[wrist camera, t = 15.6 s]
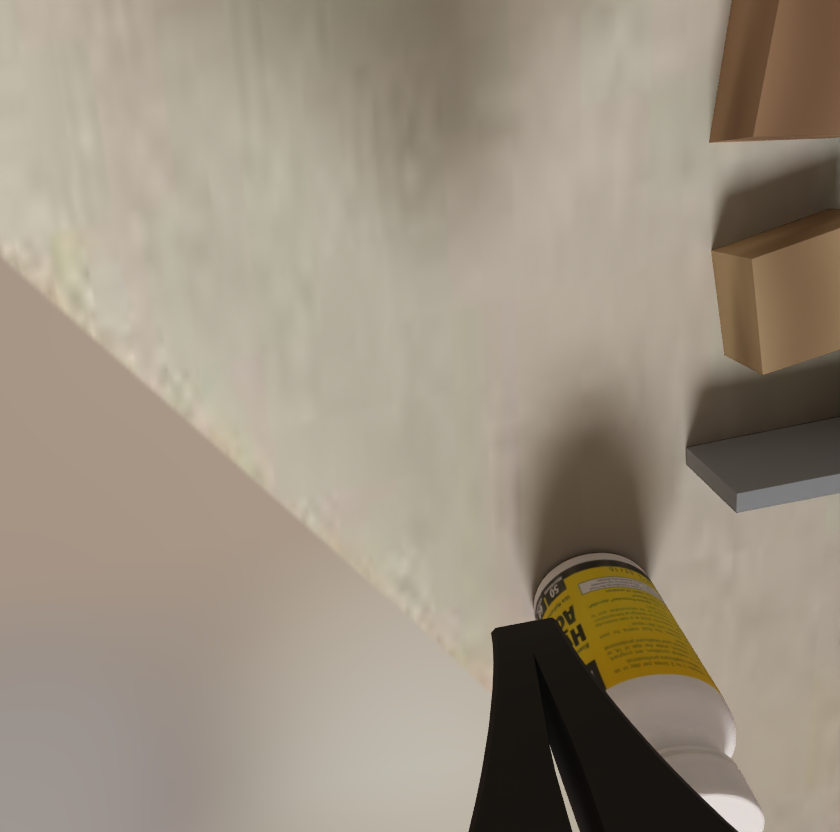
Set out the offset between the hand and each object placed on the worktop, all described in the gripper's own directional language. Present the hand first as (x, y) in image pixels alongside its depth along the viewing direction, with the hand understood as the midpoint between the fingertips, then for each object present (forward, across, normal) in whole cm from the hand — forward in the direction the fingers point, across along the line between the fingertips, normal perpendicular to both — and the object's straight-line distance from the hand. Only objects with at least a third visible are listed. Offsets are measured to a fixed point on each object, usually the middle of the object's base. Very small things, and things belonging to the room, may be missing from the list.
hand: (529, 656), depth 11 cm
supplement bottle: (+11, -4, +9) cm, 14 cm away
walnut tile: (+11, -12, -10) cm, 19 cm away
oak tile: (+11, -12, -4) cm, 16 cm away
